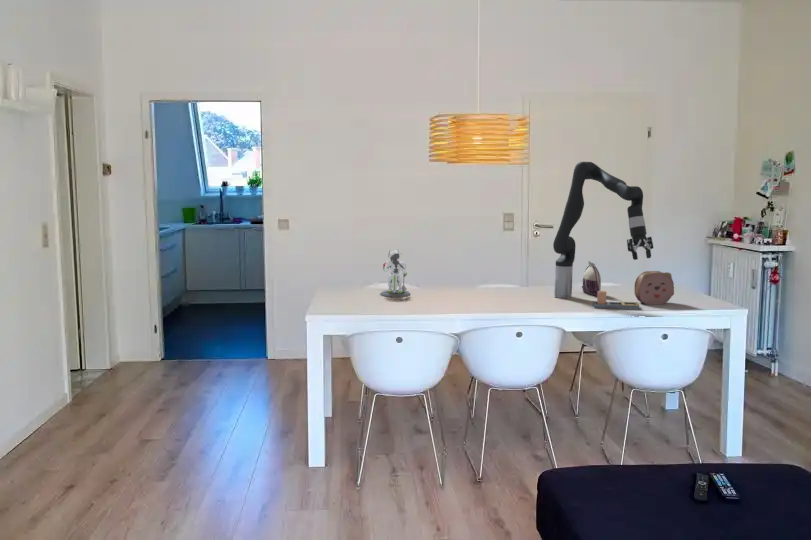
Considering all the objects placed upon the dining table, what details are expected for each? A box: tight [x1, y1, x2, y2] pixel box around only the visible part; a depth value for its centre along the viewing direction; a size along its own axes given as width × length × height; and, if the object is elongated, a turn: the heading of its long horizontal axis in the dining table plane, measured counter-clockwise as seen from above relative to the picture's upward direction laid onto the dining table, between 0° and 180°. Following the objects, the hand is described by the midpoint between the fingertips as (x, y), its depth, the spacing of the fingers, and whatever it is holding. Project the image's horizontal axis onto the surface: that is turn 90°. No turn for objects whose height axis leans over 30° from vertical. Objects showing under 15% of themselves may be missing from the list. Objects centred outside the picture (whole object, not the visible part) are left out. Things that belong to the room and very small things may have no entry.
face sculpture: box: [634, 270, 675, 305], centre depth 383 cm, size 20×7×17 cm, turn 101°
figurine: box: [379, 249, 411, 298], centre depth 404 cm, size 17×17×25 cm
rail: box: [592, 300, 640, 310], centre depth 371 cm, size 22×8×2 cm, turn 81°
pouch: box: [581, 260, 602, 297], centre depth 407 cm, size 25×8×19 cm, turn 15°
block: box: [596, 290, 608, 304], centre depth 372 cm, size 4×4×8 cm
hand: (642, 258), depth 358 cm, fingers open, 8 cm apart
